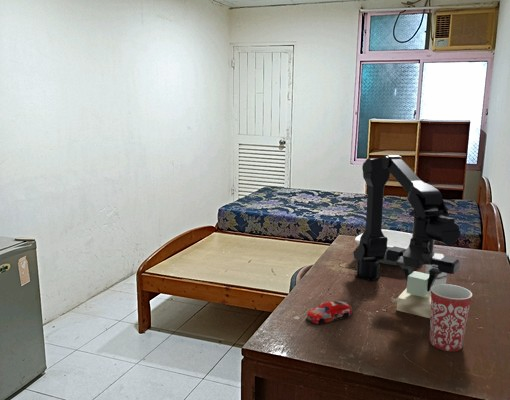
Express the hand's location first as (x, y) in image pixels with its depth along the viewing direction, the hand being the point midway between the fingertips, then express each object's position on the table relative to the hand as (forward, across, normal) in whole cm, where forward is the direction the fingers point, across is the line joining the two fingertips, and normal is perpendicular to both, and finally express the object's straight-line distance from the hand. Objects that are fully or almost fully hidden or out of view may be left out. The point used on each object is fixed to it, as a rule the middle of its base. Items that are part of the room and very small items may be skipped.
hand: (418, 288), depth 128 cm
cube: (+1, 0, 0) cm, 1 cm away
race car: (+6, -16, -21) cm, 27 cm away
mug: (+6, +12, -14) cm, 19 cm away
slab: (+6, 0, 0) cm, 6 cm away
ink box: (+6, 0, +14) cm, 15 cm away
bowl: (+6, -24, +36) cm, 44 cm away
